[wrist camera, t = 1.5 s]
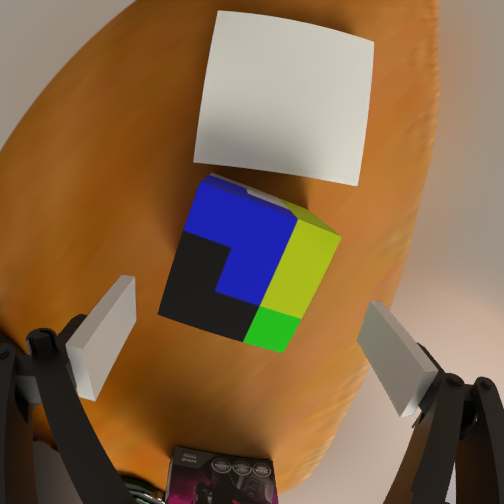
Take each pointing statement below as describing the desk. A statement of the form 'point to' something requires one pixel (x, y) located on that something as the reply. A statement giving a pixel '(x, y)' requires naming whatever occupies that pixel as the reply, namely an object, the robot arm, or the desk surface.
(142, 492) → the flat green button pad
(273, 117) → the plinth
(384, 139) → the desk surface
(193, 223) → the puzzle toy
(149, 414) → the desk surface
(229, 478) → the graphics card box
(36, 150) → the desk surface
